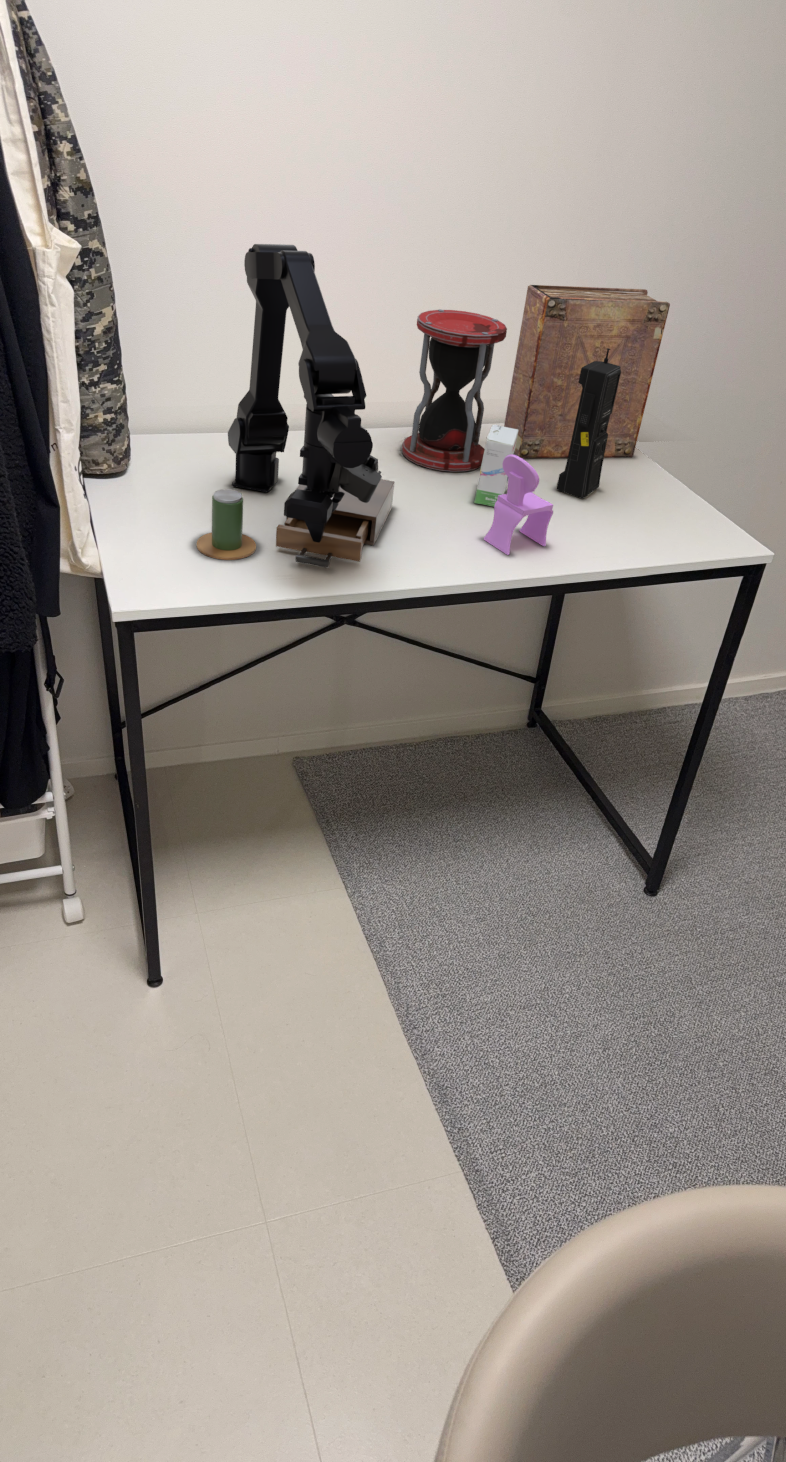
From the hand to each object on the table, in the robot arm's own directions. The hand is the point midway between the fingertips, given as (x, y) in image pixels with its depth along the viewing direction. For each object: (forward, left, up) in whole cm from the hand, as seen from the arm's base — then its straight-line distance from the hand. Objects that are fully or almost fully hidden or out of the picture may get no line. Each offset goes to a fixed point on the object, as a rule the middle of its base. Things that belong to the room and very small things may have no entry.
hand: (317, 541), depth 157 cm
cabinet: (0, +17, -3) cm, 17 cm away
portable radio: (+38, +46, -4) cm, 60 cm away
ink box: (+23, +36, -4) cm, 43 cm away
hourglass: (+12, +52, -4) cm, 54 cm away
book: (+35, +68, -4) cm, 76 cm away
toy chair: (+29, +20, -4) cm, 35 cm away
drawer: (0, +6, -3) cm, 7 cm away
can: (-14, 0, -3) cm, 14 cm away
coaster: (-14, -1, -3) cm, 14 cm away
